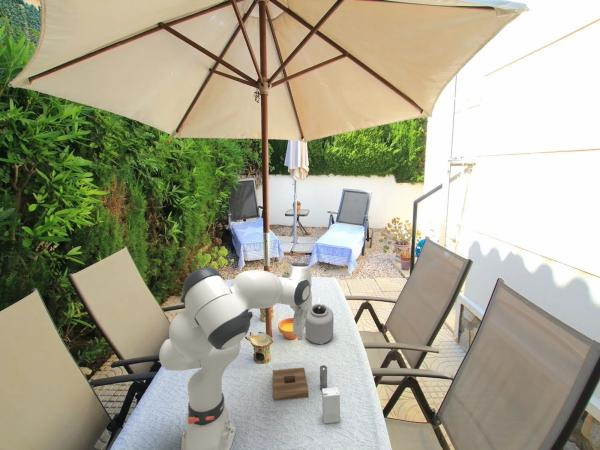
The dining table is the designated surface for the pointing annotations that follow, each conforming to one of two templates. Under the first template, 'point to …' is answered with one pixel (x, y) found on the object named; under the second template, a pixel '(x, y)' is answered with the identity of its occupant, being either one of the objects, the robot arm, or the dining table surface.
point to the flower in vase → (284, 269)
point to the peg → (323, 377)
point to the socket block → (289, 384)
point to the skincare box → (331, 405)
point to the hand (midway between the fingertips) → (301, 332)
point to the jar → (319, 324)
